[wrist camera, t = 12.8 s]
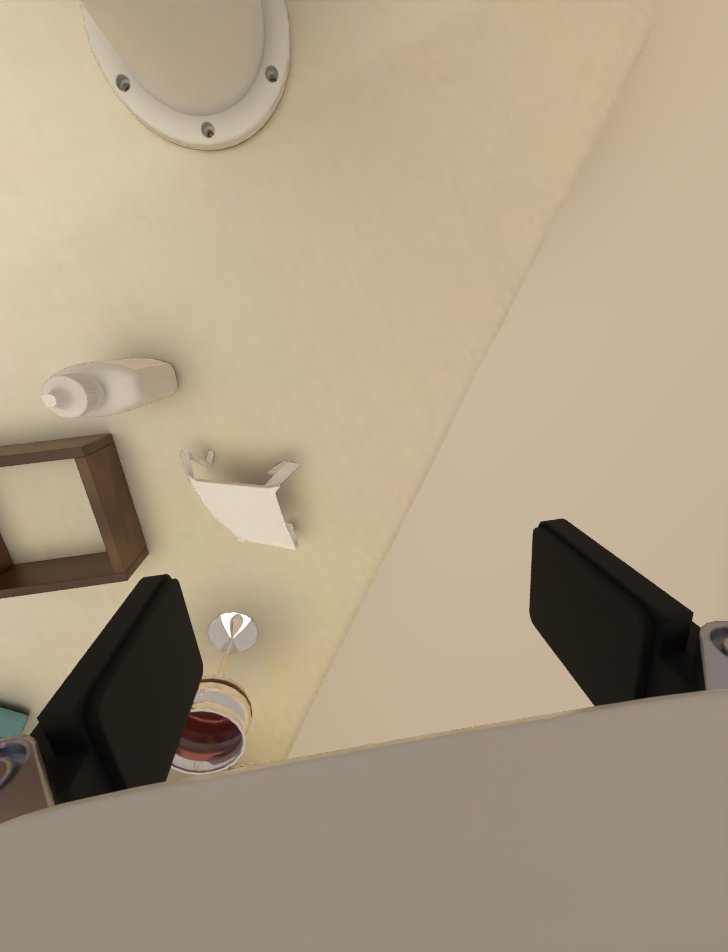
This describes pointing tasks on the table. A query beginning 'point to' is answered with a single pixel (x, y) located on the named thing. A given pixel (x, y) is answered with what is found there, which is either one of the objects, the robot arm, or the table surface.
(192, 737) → the wineglass
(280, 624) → the table surface
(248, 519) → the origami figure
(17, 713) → the data package
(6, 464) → the square wooden box frame
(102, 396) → the eye dropper bottle
